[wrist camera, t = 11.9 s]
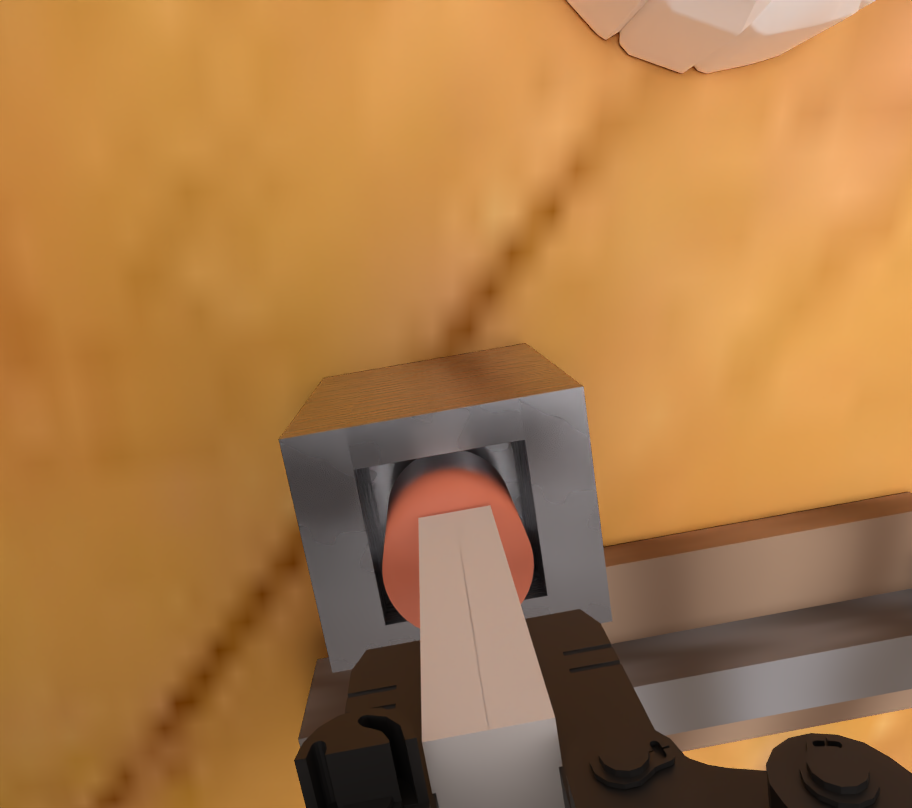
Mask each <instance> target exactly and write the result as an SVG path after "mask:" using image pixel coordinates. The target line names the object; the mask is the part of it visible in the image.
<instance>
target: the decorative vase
mask: <svg viewBox="0 0 912 808" xmlns="http://www.w3.org/2000/svg"><path fill="white" fill-rule="evenodd" d="M566 1H567V2H568V3H569V4H570V5H571V6H572V7H573V8H574V9H575V11H576V12H577V13H578V14H579V15H580V16H581V17H582V18H583V19H584V20H585V22H586V23H587V24H588V25H589V26H590V27H591V28H592V29H593V30H594V31H595V32H596V34H597V35H599V36H600V37H602V38H603V39H605V40H607V39H608V38H610V37H611V36H613V35H615V34H616V33H618V32H619V31H620V38H619V44H620V45H621V46H622V48H623V49H624V50H625V51H626V52H627V54H628V55H631V56H634V57H637V58H639V59H642V60H645V61H648V62H651V63H654V64H656V65H659V66H662V67H665V68H668V69H670V70H673V71H676V72H679V73H684V72H685V71H687V70H688V69H690V68H691V67H693V66H694V67H695V68H696V69H697V70H698V71H700V72H703V73H706V74H707V73H712V72H717V71H722V70H726V69H731V68H736V67H741V66H746V65H750V64H754V63H757V62H760V61H764V60H767V59H770V58H773V57H776V56H779V55H781V54H783V53H785V52H787V51H788V50H790V49H792V48H794V47H796V46H797V45H799V44H801V43H803V42H805V41H806V40H808V39H810V38H812V37H814V36H816V35H817V34H819V33H821V32H823V31H825V30H826V29H828V28H830V27H832V26H834V25H835V24H837V23H839V22H841V21H843V20H844V19H846V18H848V17H850V16H852V15H853V14H854V13H856V12H857V11H858V10H860V9H862V8H864V7H865V6H867V5H869V4H870V3H872V2H874V1H875V0H566Z"/></svg>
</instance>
